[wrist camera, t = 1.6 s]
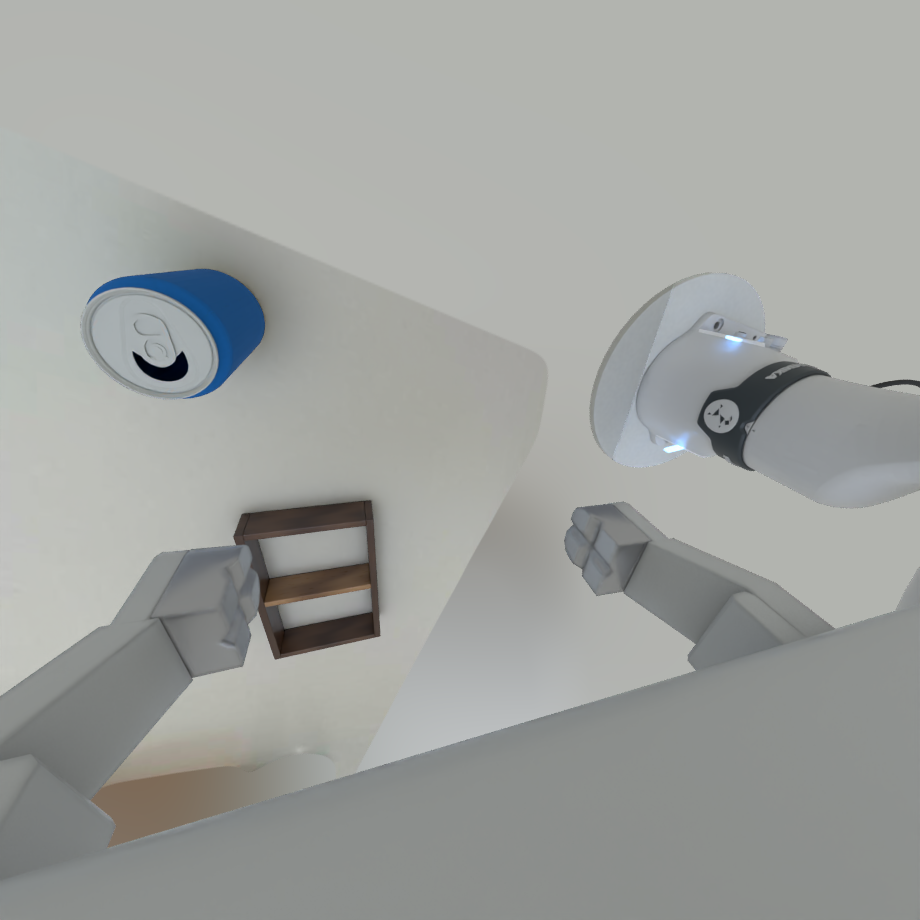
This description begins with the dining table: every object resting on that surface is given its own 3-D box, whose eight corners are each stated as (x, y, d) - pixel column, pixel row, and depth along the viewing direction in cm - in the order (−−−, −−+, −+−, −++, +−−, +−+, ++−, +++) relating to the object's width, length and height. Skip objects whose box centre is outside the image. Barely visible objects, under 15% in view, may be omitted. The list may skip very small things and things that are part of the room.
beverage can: (187, 355, 28) (105, 409, 18) (157, 265, 25) (36, 273, 15) (274, 354, 30) (240, 403, 20) (256, 271, 27) (205, 280, 17)
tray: (371, 500, 40) (373, 519, 38) (378, 614, 51) (380, 636, 48) (241, 513, 37) (233, 536, 34) (278, 634, 47) (274, 659, 44)
